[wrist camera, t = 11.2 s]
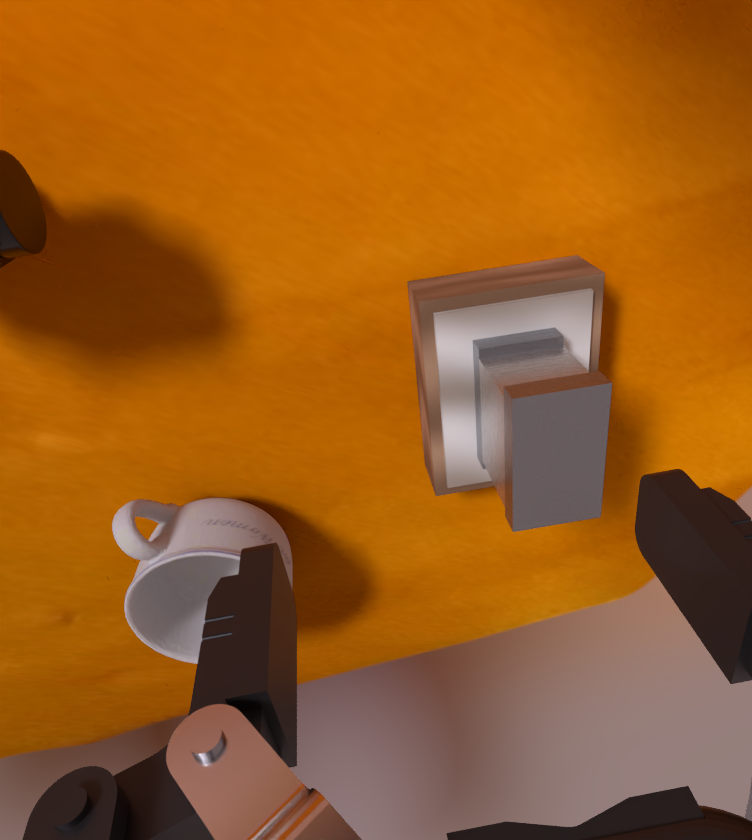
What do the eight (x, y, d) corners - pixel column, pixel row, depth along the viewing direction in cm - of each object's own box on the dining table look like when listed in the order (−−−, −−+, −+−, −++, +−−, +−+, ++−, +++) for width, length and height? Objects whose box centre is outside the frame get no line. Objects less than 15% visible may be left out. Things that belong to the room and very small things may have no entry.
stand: (407, 281, 38) (420, 304, 35) (577, 255, 39) (607, 274, 35) (425, 464, 45) (437, 499, 42) (568, 440, 46) (593, 473, 42)
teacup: (317, 556, 49) (320, 636, 42) (196, 605, 50) (181, 691, 43) (228, 421, 42) (215, 489, 35) (91, 481, 43) (52, 559, 36)
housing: (472, 340, 36) (512, 399, 30) (554, 327, 36) (612, 382, 30) (477, 457, 40) (512, 531, 34) (551, 445, 41) (600, 517, 34)
